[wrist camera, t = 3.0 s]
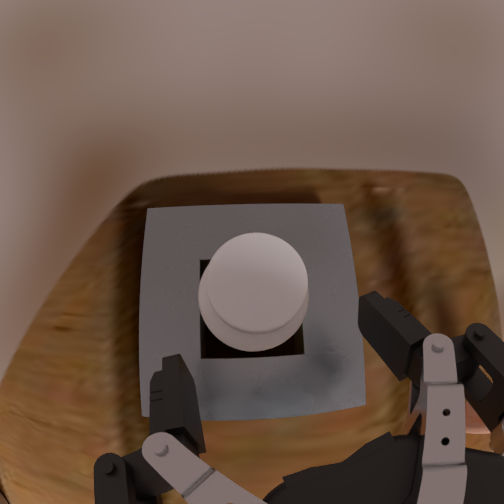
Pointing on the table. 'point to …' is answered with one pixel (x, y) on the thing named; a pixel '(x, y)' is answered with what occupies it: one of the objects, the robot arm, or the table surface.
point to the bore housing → (260, 367)
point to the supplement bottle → (254, 292)
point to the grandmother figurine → (473, 421)
